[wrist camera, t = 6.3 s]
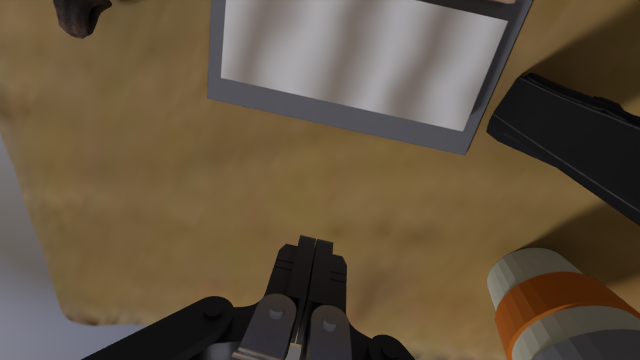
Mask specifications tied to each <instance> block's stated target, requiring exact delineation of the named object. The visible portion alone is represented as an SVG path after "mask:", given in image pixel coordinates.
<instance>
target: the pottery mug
mask: <svg viewBox="0 0 640 360" xmlns="http://www.w3.org/2000/svg"><path fill="white" fill-rule="evenodd" d="M53 3H54V6H55V9H56V12H57V16H58V20H59V21H58V22H59V25H60V27H61V28H62V29H63V30H64V31H65V32H66V33H68V34H70V35H71V36H73V37H76V38H81V39H83V38H85V37H86V36H89V35H91V34H92V33H93V31H94V29H95V26H96V24H97V21H98V18H99V16H100V14H101V13H102V12H103V11H104V10H106V9H107V8H110V7H111V6H112V3H111V1H110V0H53Z"/></svg>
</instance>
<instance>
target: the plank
mask: <svg viewBox="0 0 640 360" xmlns="http://www.w3.org/2000/svg"><path fill="white" fill-rule="evenodd" d="M507 23H508V21H505V20H501V19H496V18H492V17H488V16H483V15H479V14H474V13H470V12H466V11H461V10H457V9H452V8H448V7H444V6H439V5H435V4H430V3H426V2H421V1H417V0H226V7H225V22H224V37H223V52H222V68H221V78H225V79H229V80H234V81H238V82H243V83H247V84H252V85H256V86H260V87H265V88H269V89H274V90H278V91H283V92H287V93H292V94H296V95H301V96H305V97H310V98H314V99H319V100H323V101H328V102H332V103H337V104H341V105H346V106H350V107H355V108H359V109H364V110H368V111H373V112H377V113H382V114H386V115H391V116H395V117H400V118H404V119H409V120H413V121H418V122H422V123H427V124H431V125H436V126H440V127H445V128H449V129H454V130H458V131H463V130H464V128H465V125H466V123H467V120H468V118H469V115H470V113H471V111H472V108H473V106H474V103H475V101H476V98H477V96H478V93H479V91H480V89H481V86H482V84H483V81H484V79H485V76H486V74H487V72H488V69H489V67H490V64H491V62H492V59H493V57H494V54H495V52H496V50H497V47H498V45H499V42H500V40H501V37H502V35H503V32H504V30H505V28H506V25H507Z"/></svg>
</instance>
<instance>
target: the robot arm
mask: <svg viewBox="0 0 640 360" xmlns="http://www.w3.org/2000/svg"><path fill="white" fill-rule="evenodd" d="M315 243H316V245H315ZM332 252H333V242H329V241H324V240H320V239H317V242H316V239H315V238H311V237H306V236H302V235H300V239H299V243H298V246H294V245H290V244H285V245H284V246H283V247H282V248H281V249H280V250H279V252H278V255H277V258H276V261H275V265H274V268H273V271H272V274H271V277H270V280H269V283H268V286H267V289H266V292H265V295H264V297H263V298H262V299H261V300H260V301H259V302H257V303H256V304H254V305H251V306H246V307H233V305H232V304H231V302H230V301H229V300H227V299H225V298H223V297H219V296H211V297H206V298H204V299H201V300H199V301H197V302H195V303H193V304H191V305H189V306H187V307H185V308H183V309H181V310H179V311H177V312H175V313H173V314H171V315H169V316H167V317H165V318H163V319H161V320H159V321H157V322H155V323H153V324H151V325H149V326H147V327H145V328H143V329H141V330H140V331H138V332H135V333H133V334H131V335H129V336H128V337H126V338H123V339H121V340H120V341H117V342H115V343H113V344H111V345H109V346H107V347H106V348H103V349H101V350H100V351H97V352H96V353H93V354H91V355H89V356H87V357H85V358H83V359H82V360H285V358H286V357H287V354H288V350H289V346H290V343H295V339H296V335H297V332H298V336H297V341H296V344H300V345H302V347H301V354H300V358H299V360H415V359H414V358H413V356H412V355H411V354H410V353H409V352H408V350H407V349H406V348H405V347H404V346H403V345H402V344H401V343H400V342H399V341H398V340H397V339H395V338H393V337H391V336H388V335H377V336H375V337H373V338H372V339H371V338H369V337H367V336H365V335H364V334H362V333H360V332H359V331H357V330H356V329H355V328H354V327H353V326H352V325H351V324H350V322H349V320H348V318H347V316H346V282H347V276H346V275H347V265H346V263H345V261H344V259H343V257H342V256H338V255H334V254H332ZM298 328H299V330H298Z"/></svg>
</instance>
